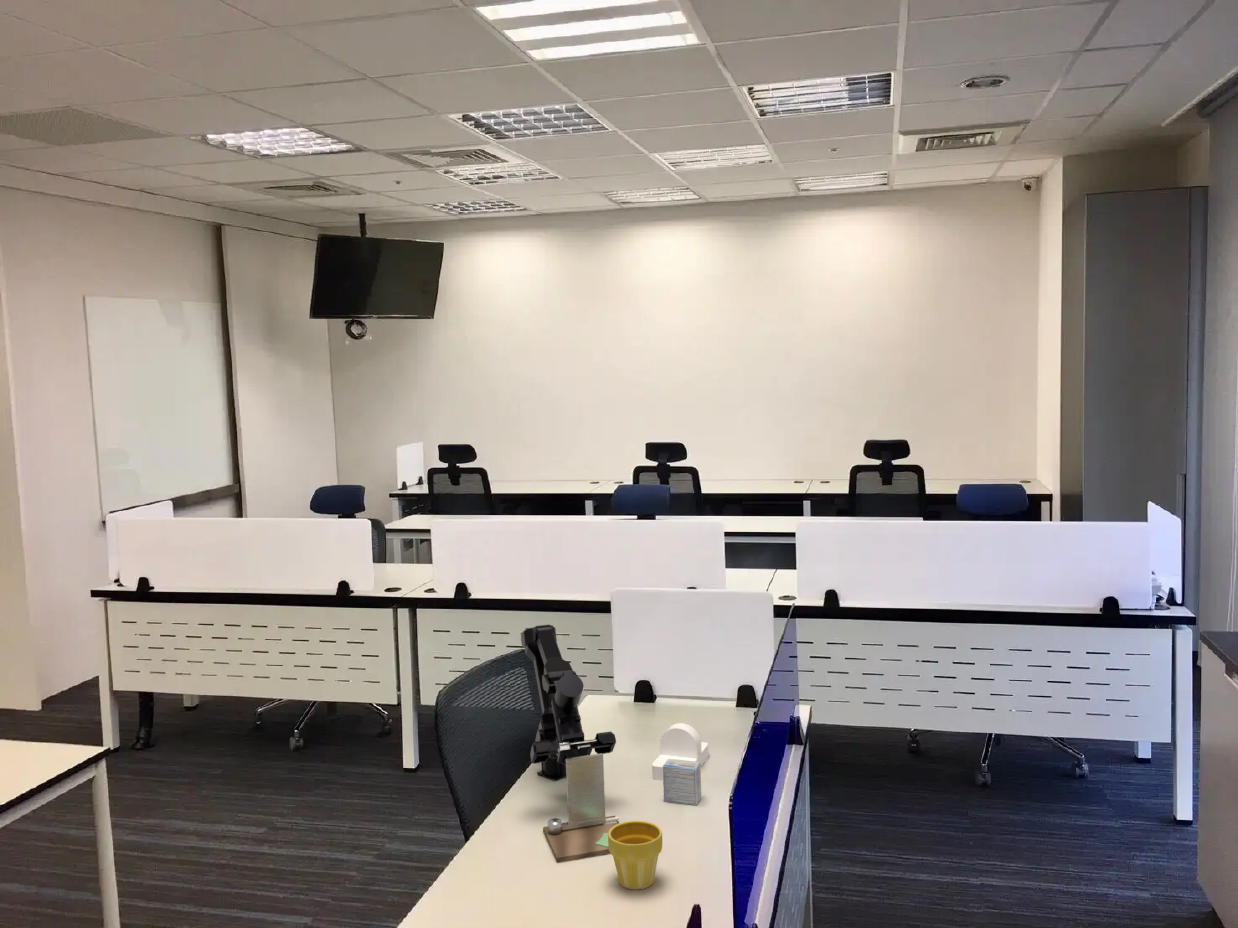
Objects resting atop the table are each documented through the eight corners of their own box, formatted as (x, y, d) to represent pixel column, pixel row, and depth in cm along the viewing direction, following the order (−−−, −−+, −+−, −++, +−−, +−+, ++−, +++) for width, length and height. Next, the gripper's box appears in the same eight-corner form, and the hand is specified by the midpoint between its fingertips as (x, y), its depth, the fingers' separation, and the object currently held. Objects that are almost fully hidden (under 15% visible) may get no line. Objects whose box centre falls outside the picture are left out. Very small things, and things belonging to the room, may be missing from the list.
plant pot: (626, 862, 191) (625, 815, 190) (672, 874, 186) (671, 826, 185) (599, 886, 182) (597, 837, 181) (647, 900, 177) (645, 849, 176)
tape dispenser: (651, 780, 230) (649, 736, 229) (673, 752, 247) (672, 711, 246) (689, 785, 227) (688, 741, 226) (709, 756, 243) (708, 715, 242)
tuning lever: (549, 834, 201) (546, 764, 199) (546, 828, 203) (543, 759, 202) (620, 823, 205) (618, 754, 204) (616, 817, 208) (614, 749, 206)
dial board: (557, 862, 191) (557, 856, 191) (543, 831, 205) (542, 826, 205) (633, 849, 196) (633, 843, 196) (614, 819, 209) (614, 814, 209)
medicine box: (701, 797, 219) (701, 761, 218) (697, 806, 215) (696, 769, 214) (668, 794, 222) (667, 757, 221) (663, 802, 217) (662, 765, 217)
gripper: (601, 729, 226) (615, 792, 217) (523, 739, 221) (534, 805, 211) (608, 706, 218) (624, 771, 208) (528, 717, 213) (540, 784, 203)
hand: (580, 783), depth 208 cm, fingers closed
